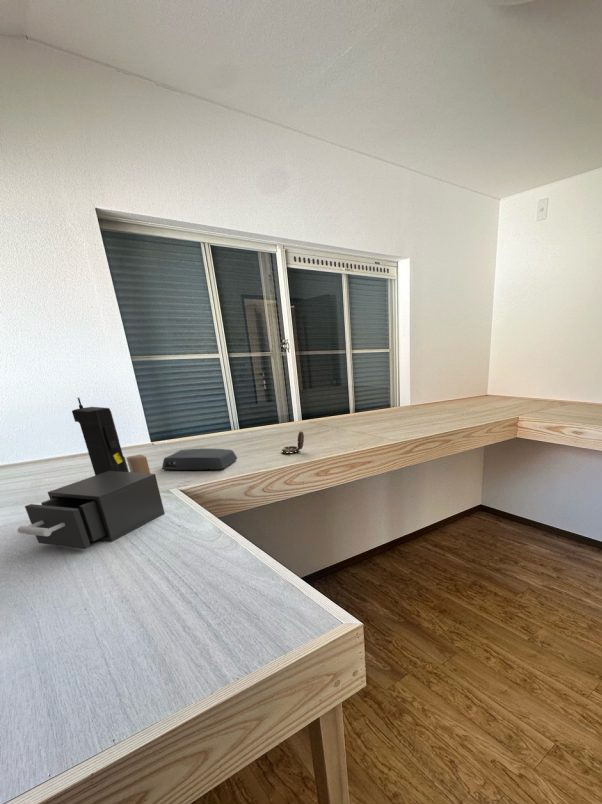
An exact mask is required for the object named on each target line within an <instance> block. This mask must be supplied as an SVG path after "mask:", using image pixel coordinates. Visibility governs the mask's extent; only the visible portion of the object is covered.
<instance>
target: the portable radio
mask: <svg viewBox="0 0 602 804" xmlns="http://www.w3.org/2000/svg"><path fill="white" fill-rule="evenodd" d="M77 401H78V408H75V409H73V410H71V413H72V417H73V420H74V422H76V423H78V424H79V426H80V428H81V433H82V436H83V440H84V442H85V446H86V450H87V453H88V456H89V459H90V462H91V466H92V469H93V473H94V476H95V475H98V474H101V473H104V472H107V471H120V472H130V469H129V466H128V463H127V460H126V457H125V456H124V454H123V451H122V447H121V443H120V438H119V435H118V432H117V429H116V424H115V421H114V418H113V414H112V410H111V409H110V407H102V406H101V407H100V406H87V407H84V406H83V404H82V402H81V398H80V397H77Z"/></svg>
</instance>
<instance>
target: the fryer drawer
mask: <svg viewBox="0 0 602 804" xmlns="http://www.w3.org/2000/svg"><path fill="white" fill-rule="evenodd" d="M24 508H25V511H26V514H27V516H28V519H29V521H30V524H29V525H20V526H18V528H17V532H18V533H19V534H21V535H22V534H23V535H32V536H35V537H36V540H37V542H38V544H41V545H51V546H59V547H66V548H75V549H80V550H82V549H83V550H86V549H89V548H91V542H96V541H99V540H98V539H99V538H101V537H103V536H105V535H107V532H106V528H105V525H104V522H103V519H102V515H101V512H100V509H99V506H98V503H97V500H90V499H79V498H68V497H55V498H53V499H50V498H49V499H48V500H44V501H42V502H41V504H34V503H29V504H27V505H25V506H24Z"/></svg>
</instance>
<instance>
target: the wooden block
mask: <svg viewBox="0 0 602 804" xmlns="http://www.w3.org/2000/svg"><path fill="white" fill-rule="evenodd" d="M126 462H127V466H128V470H129V472H135V473H150V474H151V471H150V467H149V466H150V465H149V462H148V458H147V456H146V455H144V454H136V455H130V456H127V457H126Z"/></svg>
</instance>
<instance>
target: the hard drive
mask: <svg viewBox="0 0 602 804" xmlns="http://www.w3.org/2000/svg"><path fill="white" fill-rule="evenodd" d="M236 459H237V460H238V456H237V454H236V453H235V451H234V450H232V449H229V448H207V447H205V448H188V449H180V450H178V451H176V452H174V453H172V454H170V455H168V456H166V457H164V458H163V461H162V466H161V467H162V468H161V469H162V470H170V471H171V470H172V471H173V470H174V471H196V470H197V471H205V470H206V471H207V469H210V470H224V469H225V468H227V467H228V466H230V465H231V464H232V463H234V462H235V461H236ZM229 464H230V465H229ZM226 466H227V467H226ZM223 468H224V469H223ZM203 469H204V470H203Z"/></svg>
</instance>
